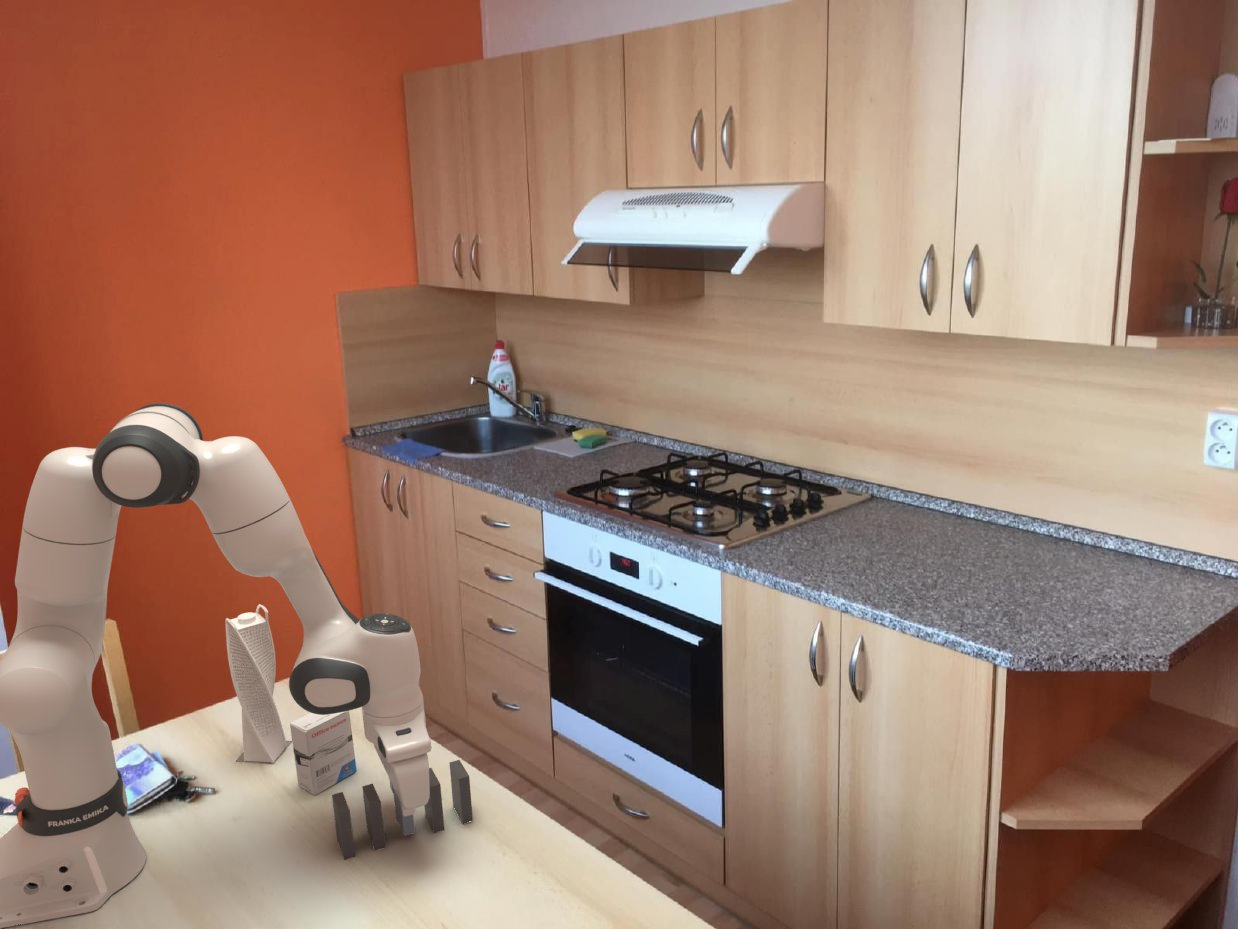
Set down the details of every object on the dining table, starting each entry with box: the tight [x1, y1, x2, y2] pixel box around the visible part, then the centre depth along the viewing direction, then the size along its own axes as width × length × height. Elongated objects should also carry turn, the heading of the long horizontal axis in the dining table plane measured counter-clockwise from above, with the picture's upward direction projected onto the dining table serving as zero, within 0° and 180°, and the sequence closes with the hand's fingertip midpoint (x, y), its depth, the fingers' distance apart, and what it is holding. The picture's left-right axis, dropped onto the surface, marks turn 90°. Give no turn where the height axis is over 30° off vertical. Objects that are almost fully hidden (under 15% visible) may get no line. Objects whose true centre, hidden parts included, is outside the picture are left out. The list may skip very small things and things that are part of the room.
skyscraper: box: [224, 604, 293, 765], centre depth 175 cm, size 8×8×28 cm
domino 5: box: [449, 759, 474, 825], centre depth 160 cm, size 2×5×8 cm, turn 25°
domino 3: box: [392, 787, 416, 837], centre depth 156 cm, size 2×5×8 cm, turn 25°
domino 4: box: [423, 767, 445, 834], centre depth 158 cm, size 2×5×8 cm, turn 26°
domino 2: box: [361, 783, 386, 852], centre depth 154 cm, size 2×5×8 cm, turn 25°
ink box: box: [289, 710, 358, 796], centre depth 169 cm, size 8×5×12 cm, turn 141°
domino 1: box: [331, 791, 356, 861], centre depth 152 cm, size 2×5×8 cm, turn 25°
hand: (402, 801), depth 156 cm, fingers closed on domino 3, 5 cm apart
